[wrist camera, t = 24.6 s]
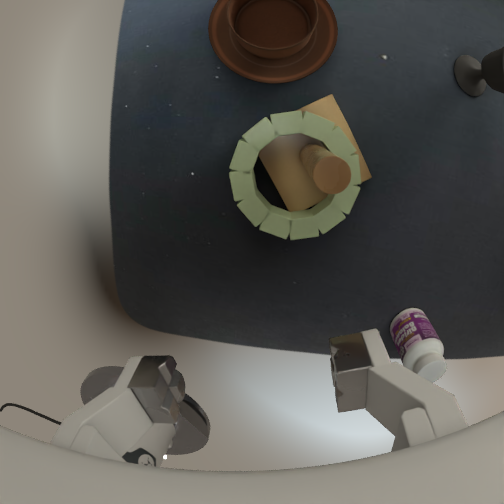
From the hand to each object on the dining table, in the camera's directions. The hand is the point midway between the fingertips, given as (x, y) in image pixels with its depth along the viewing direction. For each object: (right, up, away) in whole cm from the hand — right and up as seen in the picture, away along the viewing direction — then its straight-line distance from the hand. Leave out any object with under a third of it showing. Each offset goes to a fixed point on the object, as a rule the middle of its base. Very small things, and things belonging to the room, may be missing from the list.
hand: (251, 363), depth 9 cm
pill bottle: (+21, -6, +27) cm, 35 cm away
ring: (+4, +11, +19) cm, 23 cm away
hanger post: (+6, +13, +20) cm, 24 cm away
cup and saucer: (+2, +25, +15) cm, 29 cm away
